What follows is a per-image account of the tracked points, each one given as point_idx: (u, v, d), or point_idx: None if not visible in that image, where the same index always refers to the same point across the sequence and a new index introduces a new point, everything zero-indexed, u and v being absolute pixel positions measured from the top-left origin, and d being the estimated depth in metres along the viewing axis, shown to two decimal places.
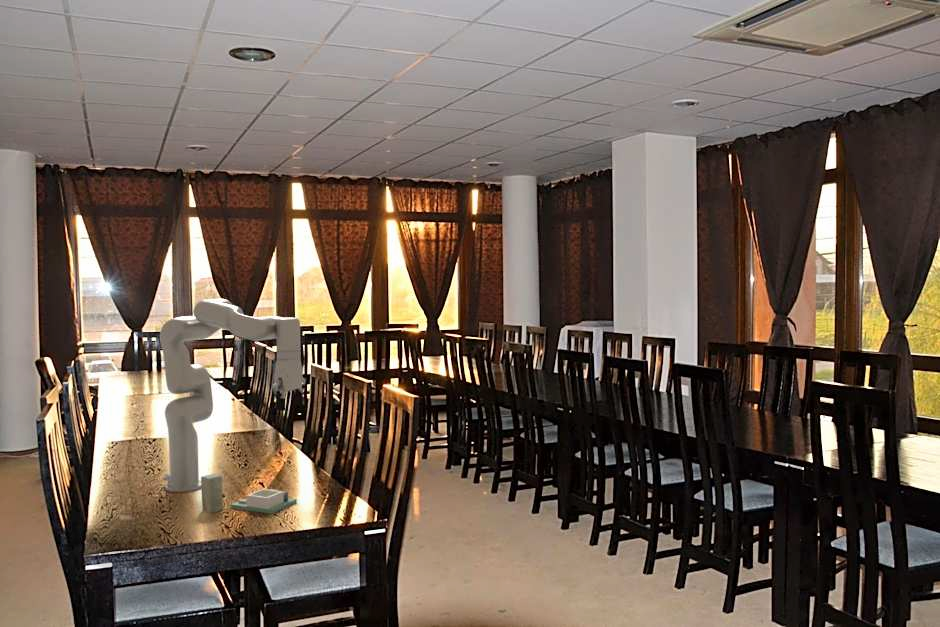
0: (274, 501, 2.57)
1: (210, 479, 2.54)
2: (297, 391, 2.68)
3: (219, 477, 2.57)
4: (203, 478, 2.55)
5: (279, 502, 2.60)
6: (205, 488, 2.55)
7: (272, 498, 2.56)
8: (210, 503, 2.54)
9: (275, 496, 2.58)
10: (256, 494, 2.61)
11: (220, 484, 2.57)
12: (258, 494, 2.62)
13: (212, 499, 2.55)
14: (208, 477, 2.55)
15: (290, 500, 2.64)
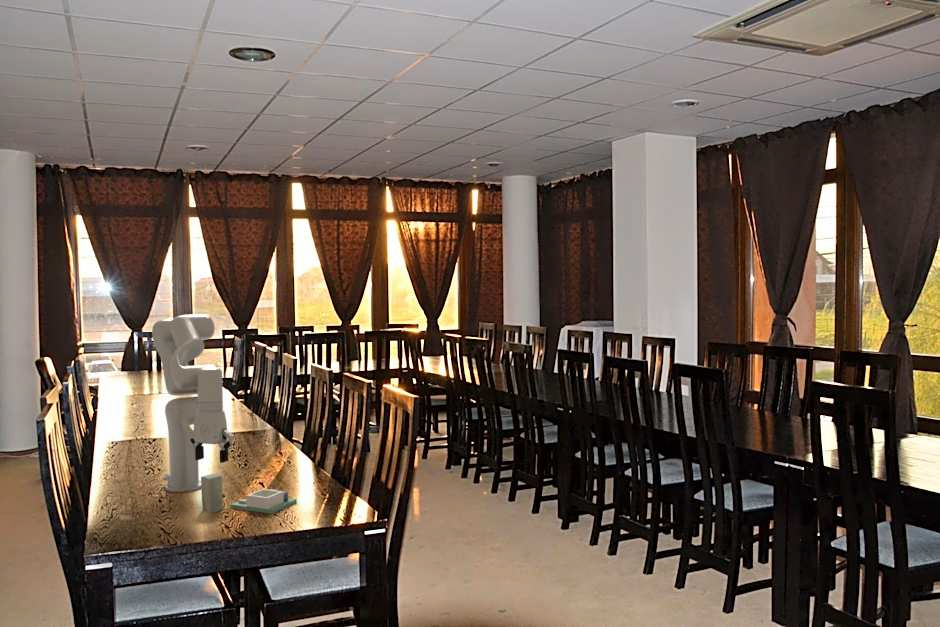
0: (274, 501, 2.57)
1: (210, 479, 2.54)
2: (198, 444, 2.58)
3: (219, 477, 2.57)
4: (203, 478, 2.55)
5: (279, 502, 2.60)
6: (205, 488, 2.55)
7: (272, 498, 2.56)
8: (210, 503, 2.54)
9: (275, 496, 2.58)
10: (256, 494, 2.61)
11: (220, 484, 2.57)
12: (258, 494, 2.62)
13: (212, 499, 2.55)
14: (208, 477, 2.55)
15: (290, 500, 2.64)
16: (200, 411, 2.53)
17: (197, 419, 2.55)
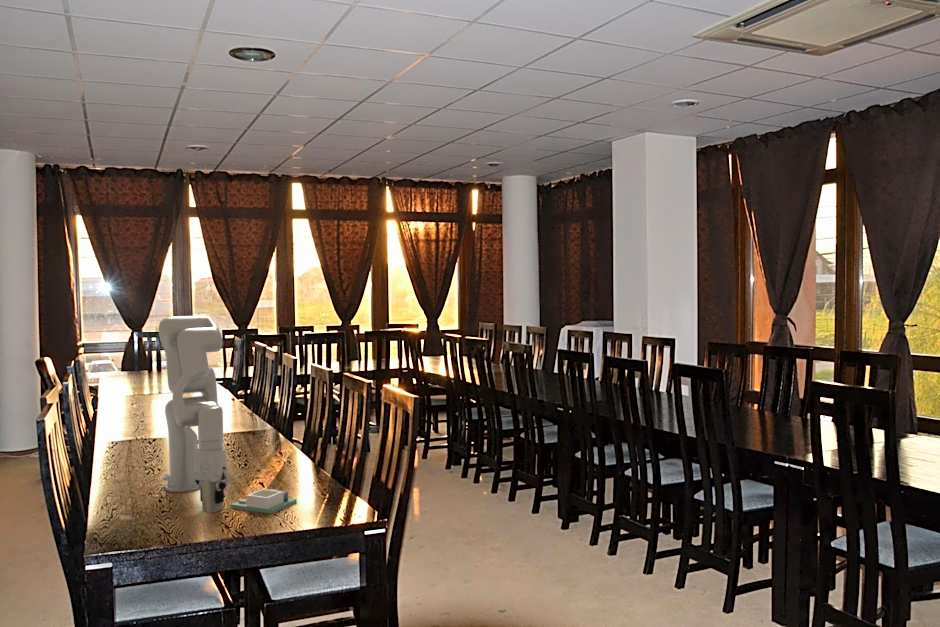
0: (274, 501, 2.57)
1: None
2: None
3: None
4: None
5: (279, 502, 2.60)
6: (205, 488, 2.55)
7: (272, 498, 2.56)
8: (210, 503, 2.54)
9: (275, 496, 2.58)
10: (256, 494, 2.61)
11: None
12: (258, 494, 2.62)
13: (212, 499, 2.55)
14: None
15: (290, 500, 2.64)
16: (200, 450, 2.53)
17: (197, 457, 2.55)
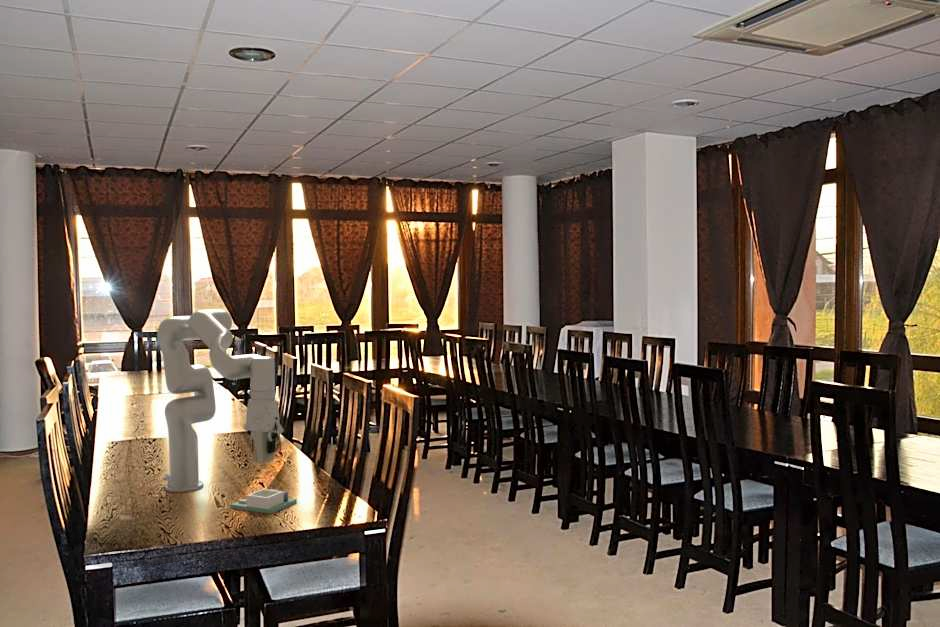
0: (274, 501, 2.57)
1: None
2: None
3: None
4: None
5: (279, 502, 2.60)
6: (257, 438, 2.56)
7: (272, 498, 2.56)
8: (262, 453, 2.56)
9: (275, 496, 2.58)
10: (256, 494, 2.61)
11: None
12: (258, 494, 2.62)
13: (264, 449, 2.56)
14: None
15: (290, 500, 2.64)
16: (253, 399, 2.55)
17: (250, 407, 2.57)
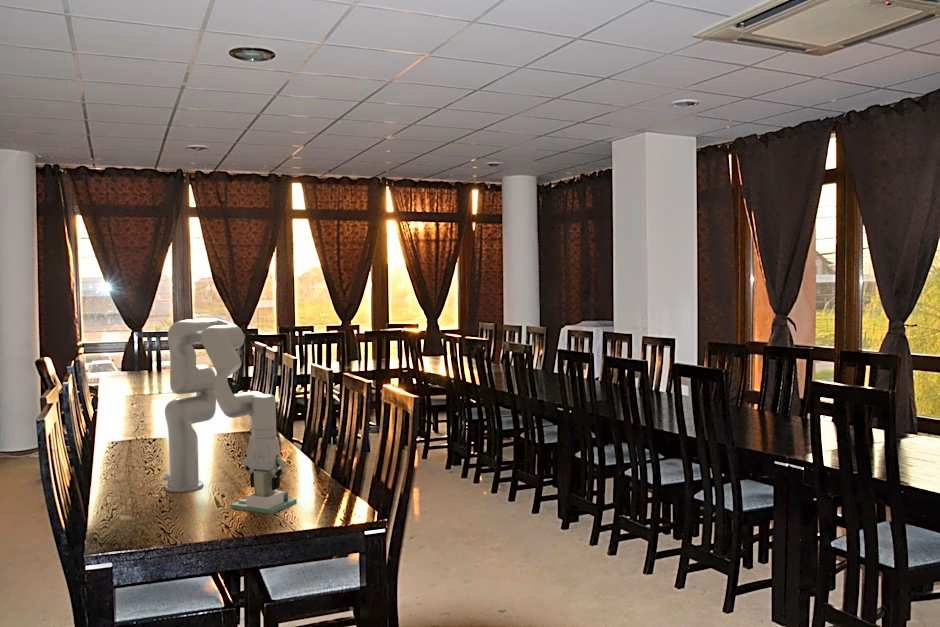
0: (274, 501, 2.57)
1: (264, 473, 2.56)
2: (253, 471, 2.61)
3: None
4: (256, 472, 2.57)
5: (279, 502, 2.60)
6: (259, 482, 2.57)
7: (272, 498, 2.56)
8: (264, 496, 2.57)
9: (275, 496, 2.58)
10: None
11: None
12: None
13: (266, 493, 2.57)
14: (261, 471, 2.57)
15: (290, 500, 2.64)
16: (254, 438, 2.55)
17: (251, 445, 2.57)
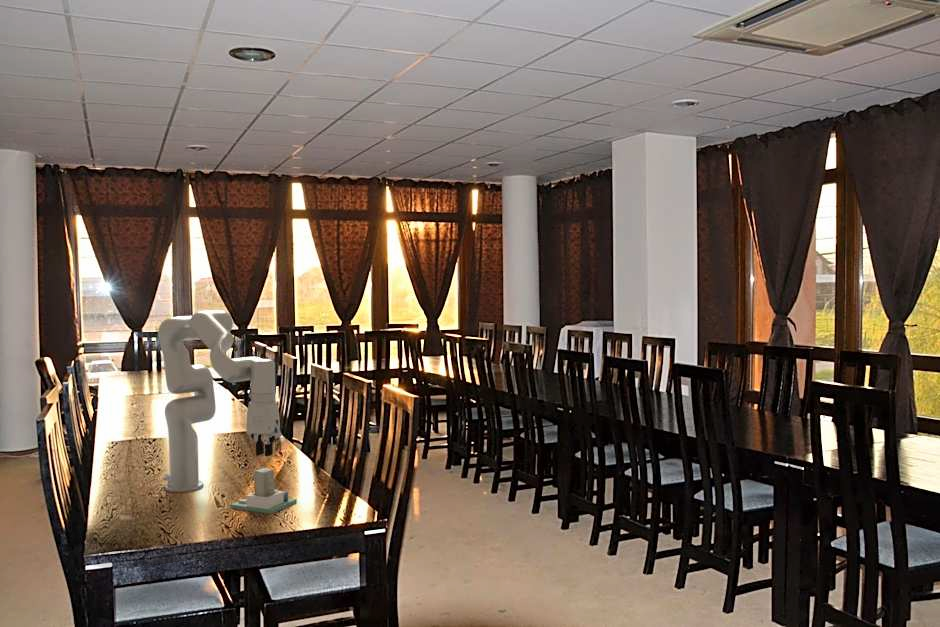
0: (274, 501, 2.57)
1: (264, 473, 2.56)
2: (258, 439, 2.59)
3: (272, 471, 2.59)
4: (256, 472, 2.57)
5: (279, 502, 2.60)
6: (259, 482, 2.57)
7: (272, 498, 2.56)
8: (264, 496, 2.57)
9: (275, 496, 2.58)
10: None
11: (272, 478, 2.59)
12: None
13: (266, 493, 2.57)
14: (261, 471, 2.57)
15: (290, 500, 2.64)
16: (254, 402, 2.55)
17: (250, 410, 2.57)
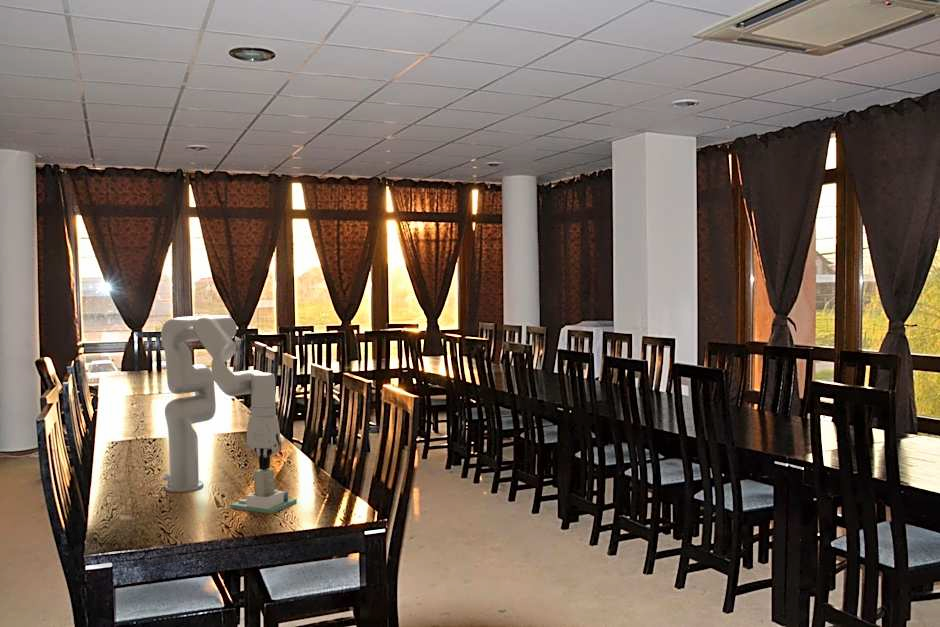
0: (274, 501, 2.57)
1: (264, 473, 2.56)
2: (261, 452, 2.59)
3: (272, 471, 2.59)
4: (256, 472, 2.57)
5: (279, 502, 2.60)
6: (259, 482, 2.57)
7: (272, 498, 2.56)
8: (264, 496, 2.57)
9: (275, 496, 2.58)
10: None
11: (272, 478, 2.59)
12: None
13: (266, 493, 2.57)
14: (261, 471, 2.57)
15: (290, 500, 2.64)
16: (254, 416, 2.55)
17: (250, 424, 2.57)
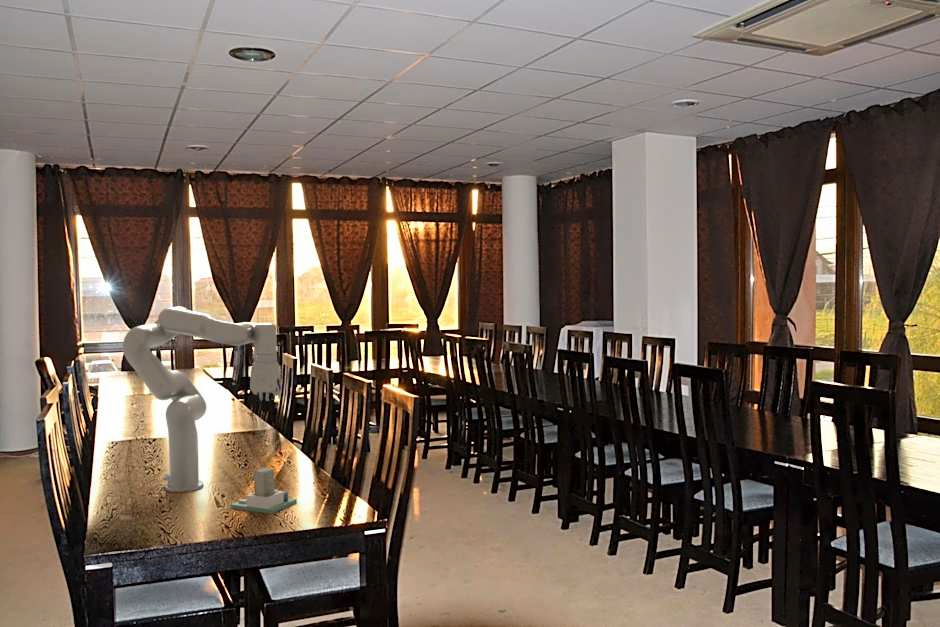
0: (274, 501, 2.57)
1: (264, 473, 2.56)
2: (264, 396, 2.80)
3: (272, 471, 2.59)
4: (256, 472, 2.57)
5: (279, 502, 2.60)
6: (259, 482, 2.57)
7: (272, 498, 2.56)
8: (264, 496, 2.57)
9: (275, 496, 2.58)
10: None
11: (272, 478, 2.59)
12: None
13: (266, 493, 2.57)
14: (261, 471, 2.57)
15: (290, 500, 2.64)
16: (257, 362, 2.76)
17: (254, 370, 2.78)
